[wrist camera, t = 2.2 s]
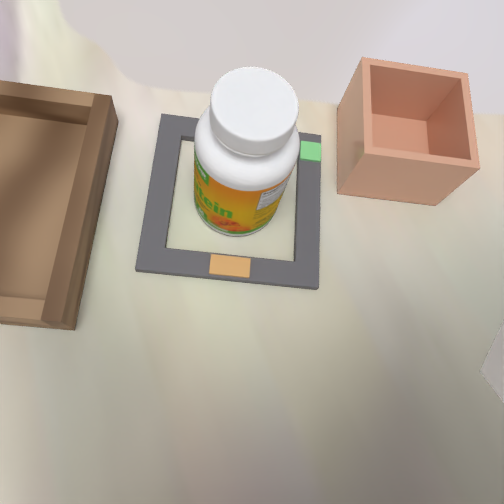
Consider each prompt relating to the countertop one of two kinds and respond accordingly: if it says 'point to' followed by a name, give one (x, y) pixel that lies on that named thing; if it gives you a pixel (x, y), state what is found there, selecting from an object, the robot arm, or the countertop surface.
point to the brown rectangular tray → (49, 198)
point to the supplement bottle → (245, 150)
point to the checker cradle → (222, 265)
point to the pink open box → (405, 133)
